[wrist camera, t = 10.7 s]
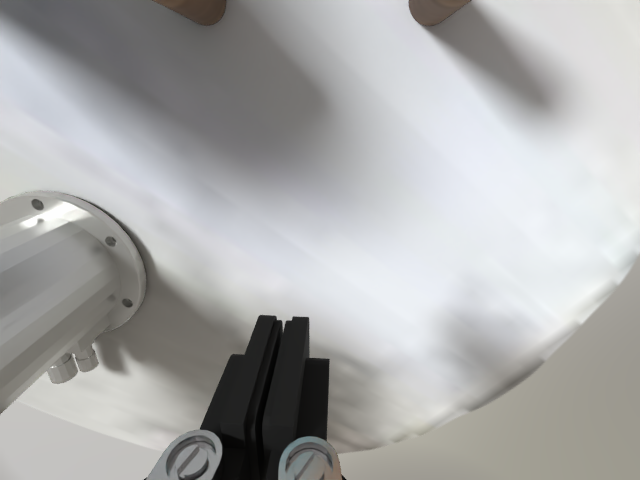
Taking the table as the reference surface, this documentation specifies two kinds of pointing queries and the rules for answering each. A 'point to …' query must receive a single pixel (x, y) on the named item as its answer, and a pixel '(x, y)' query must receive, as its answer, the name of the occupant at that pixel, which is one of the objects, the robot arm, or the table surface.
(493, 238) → the table surface
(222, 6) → the left post
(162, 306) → the table surface
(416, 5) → the right post
